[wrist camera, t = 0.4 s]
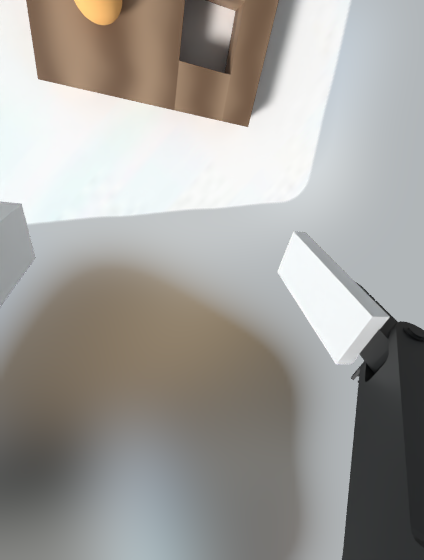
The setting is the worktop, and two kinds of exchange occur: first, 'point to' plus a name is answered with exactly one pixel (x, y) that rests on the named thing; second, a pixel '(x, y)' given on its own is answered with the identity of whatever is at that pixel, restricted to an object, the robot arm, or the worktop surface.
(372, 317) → the robot arm
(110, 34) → the wooden block with hole
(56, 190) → the worktop surface
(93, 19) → the ball
